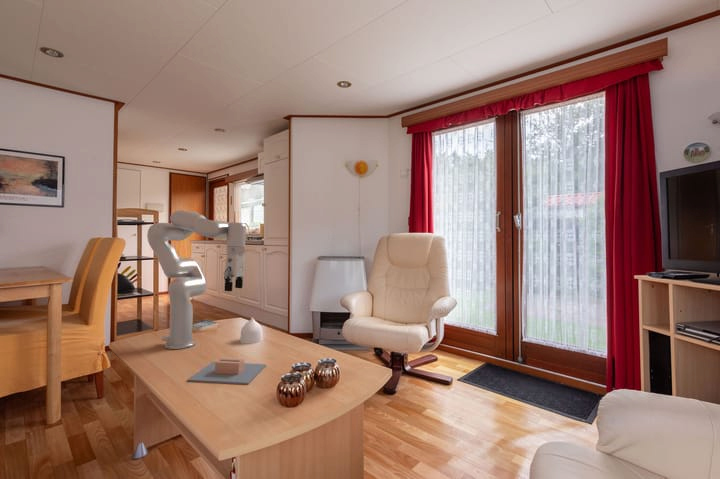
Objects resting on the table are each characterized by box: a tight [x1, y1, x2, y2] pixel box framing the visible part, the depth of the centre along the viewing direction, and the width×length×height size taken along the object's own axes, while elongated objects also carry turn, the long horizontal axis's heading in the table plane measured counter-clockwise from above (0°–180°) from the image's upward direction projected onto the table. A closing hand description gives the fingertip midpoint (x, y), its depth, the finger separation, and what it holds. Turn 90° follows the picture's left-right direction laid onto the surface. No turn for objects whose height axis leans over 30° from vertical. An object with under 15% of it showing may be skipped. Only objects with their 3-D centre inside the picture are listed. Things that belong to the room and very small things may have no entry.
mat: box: [186, 361, 267, 386], centre depth 126 cm, size 22×18×1 cm
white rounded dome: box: [239, 316, 264, 344], centre depth 169 cm, size 11×11×12 cm
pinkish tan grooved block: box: [214, 357, 245, 374], centre depth 127 cm, size 4×9×4 cm, turn 86°
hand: (233, 289), depth 147 cm, fingers open, 9 cm apart
